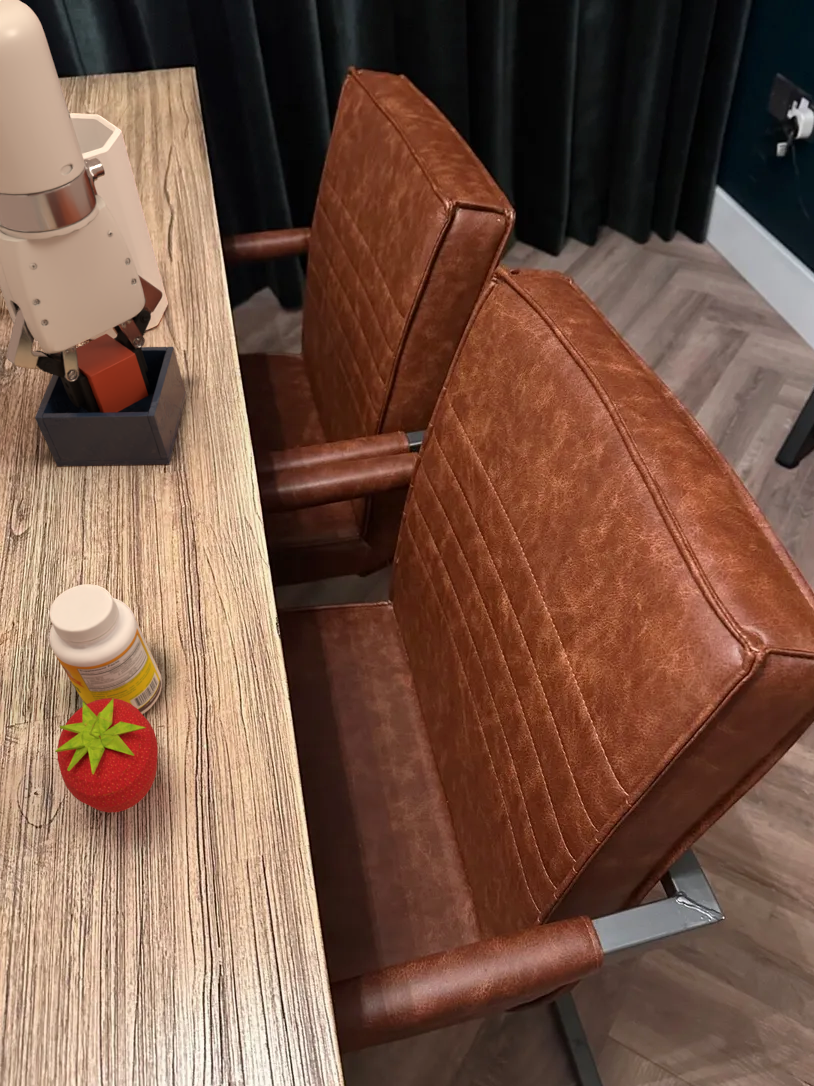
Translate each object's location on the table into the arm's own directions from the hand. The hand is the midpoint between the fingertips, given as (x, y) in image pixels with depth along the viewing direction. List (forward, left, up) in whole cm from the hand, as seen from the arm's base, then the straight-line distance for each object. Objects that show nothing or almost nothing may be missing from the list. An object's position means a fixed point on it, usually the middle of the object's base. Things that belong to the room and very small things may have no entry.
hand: (112, 393), depth 79 cm
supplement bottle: (+6, -30, -4) cm, 31 cm away
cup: (-5, +20, -4) cm, 21 cm away
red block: (0, 0, 0) cm, 0 cm away
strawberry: (+8, -38, -4) cm, 39 cm away
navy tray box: (0, 0, -4) cm, 4 cm away
